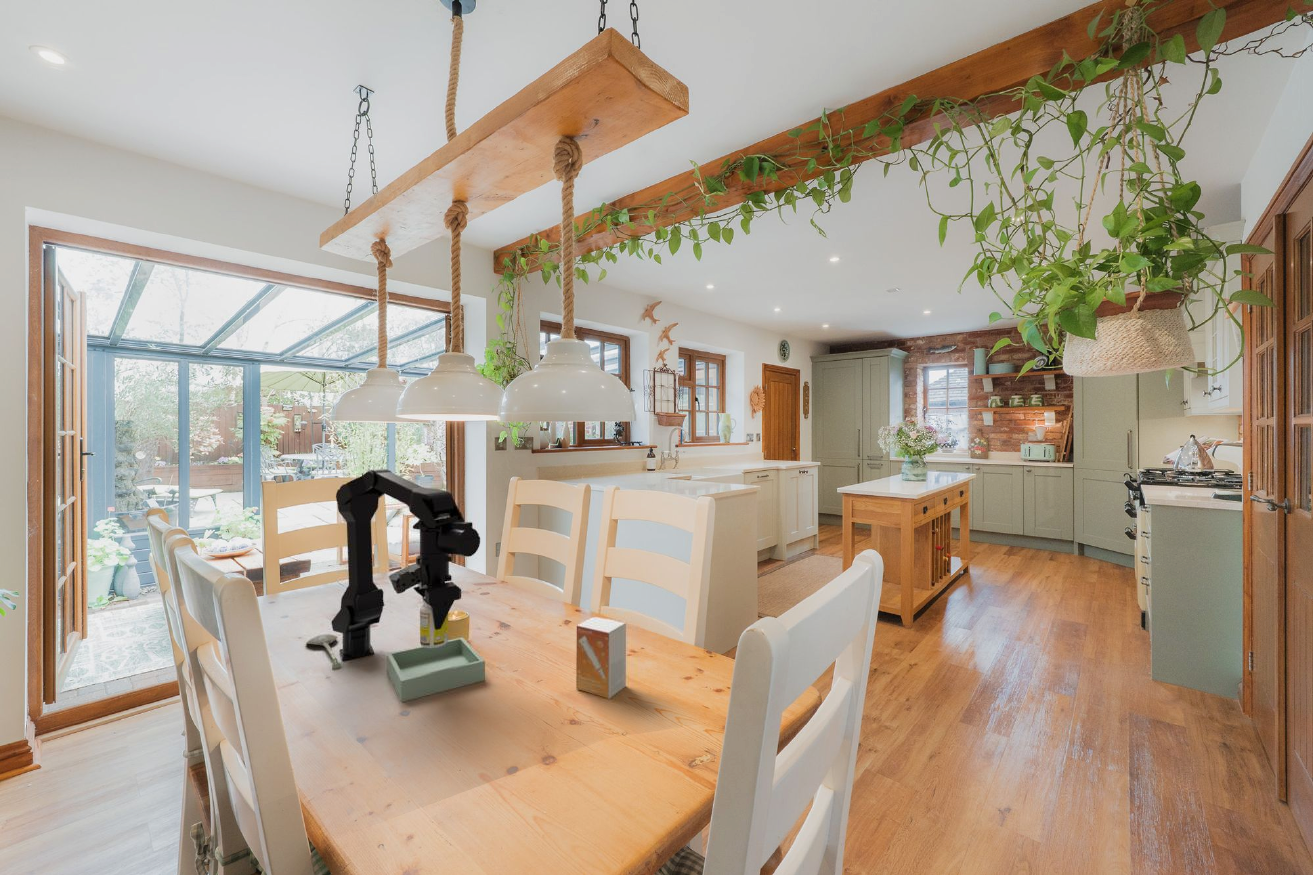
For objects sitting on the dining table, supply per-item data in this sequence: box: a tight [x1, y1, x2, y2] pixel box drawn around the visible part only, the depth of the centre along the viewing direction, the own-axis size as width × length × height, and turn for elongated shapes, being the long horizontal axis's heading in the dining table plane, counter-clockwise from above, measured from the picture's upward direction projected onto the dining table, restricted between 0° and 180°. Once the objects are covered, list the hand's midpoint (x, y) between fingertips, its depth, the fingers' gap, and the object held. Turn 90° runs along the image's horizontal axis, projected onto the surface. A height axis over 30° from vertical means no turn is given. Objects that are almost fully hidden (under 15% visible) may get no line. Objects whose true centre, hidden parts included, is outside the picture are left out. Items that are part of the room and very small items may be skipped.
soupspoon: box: [305, 633, 342, 670], centre depth 128 cm, size 22×3×7 cm
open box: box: [386, 637, 486, 703], centre depth 115 cm, size 16×16×4 cm
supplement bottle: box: [419, 597, 450, 648], centre depth 115 cm, size 6×6×10 cm
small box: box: [575, 616, 627, 700], centre depth 110 cm, size 8×6×13 cm
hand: (434, 625), depth 115 cm, fingers closed on supplement bottle, 5 cm apart
